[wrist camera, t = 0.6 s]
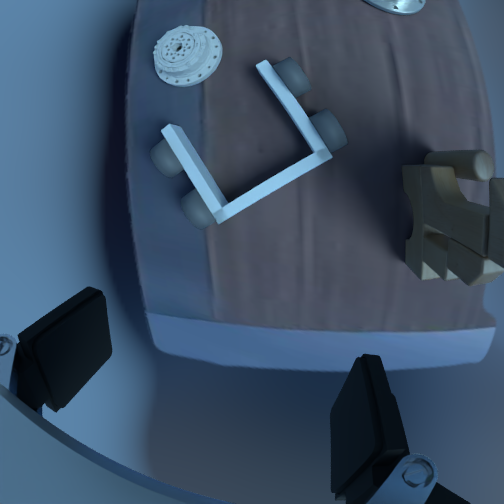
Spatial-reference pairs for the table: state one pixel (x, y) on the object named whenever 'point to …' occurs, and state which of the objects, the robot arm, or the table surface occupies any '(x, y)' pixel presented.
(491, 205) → the wooden toy
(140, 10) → the table surface
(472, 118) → the table surface
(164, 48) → the mechanical component
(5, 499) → the robot arm
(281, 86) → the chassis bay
